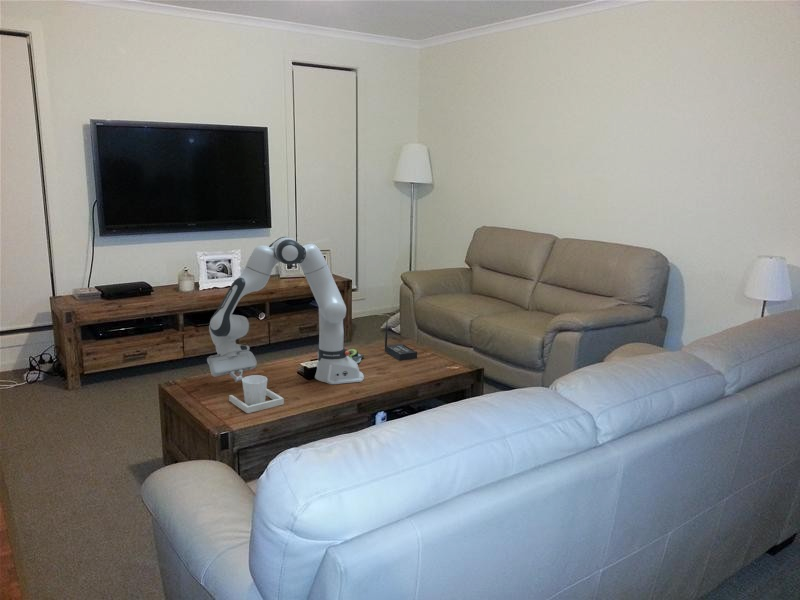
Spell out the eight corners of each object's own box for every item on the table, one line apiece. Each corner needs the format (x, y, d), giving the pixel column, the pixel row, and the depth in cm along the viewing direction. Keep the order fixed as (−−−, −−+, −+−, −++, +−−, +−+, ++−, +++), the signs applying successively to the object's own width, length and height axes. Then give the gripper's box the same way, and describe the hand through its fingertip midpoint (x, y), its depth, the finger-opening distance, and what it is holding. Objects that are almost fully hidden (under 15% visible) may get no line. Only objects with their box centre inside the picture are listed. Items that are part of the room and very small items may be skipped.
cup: (268, 405, 251) (269, 382, 248) (243, 408, 247) (243, 384, 245) (265, 396, 260) (265, 374, 258) (241, 398, 256) (240, 376, 254)
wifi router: (419, 358, 321) (421, 326, 317) (396, 361, 314) (398, 329, 310) (400, 347, 338) (402, 317, 334) (378, 350, 331) (379, 319, 327)
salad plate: (362, 369, 301) (362, 360, 300) (325, 367, 301) (325, 358, 300) (364, 356, 319) (365, 348, 318) (330, 354, 320) (330, 346, 319)
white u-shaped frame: (229, 401, 253) (229, 395, 253) (265, 392, 264) (265, 387, 263) (247, 413, 242) (247, 407, 242) (283, 404, 253) (283, 398, 252)
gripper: (207, 353, 258) (218, 382, 253) (252, 345, 272) (263, 372, 267) (203, 360, 262) (213, 389, 257) (247, 352, 276) (257, 379, 271)
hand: (239, 380), depth 262 cm, fingers closed
